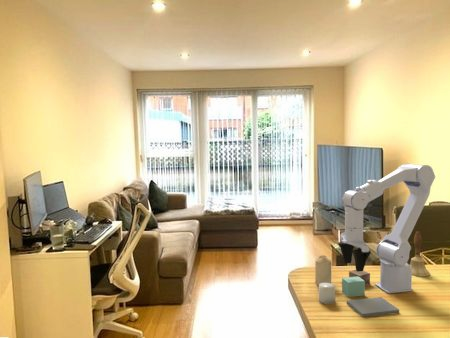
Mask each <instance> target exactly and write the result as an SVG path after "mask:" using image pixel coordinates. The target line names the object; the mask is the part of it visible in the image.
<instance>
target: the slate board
mask: <svg viewBox="0 0 450 338" xmlns="http://www.w3.org/2000/svg"><path fill="white" fill-rule="evenodd" d="M346 305H347V306H349V307H350V308H351V309H352V310H353V311H355V313H357V314H358V315H359V316H360V317H362V318H368V317H376V316H385V315H393V314H399V313H400V309H399V308H398V307H397V306H395V305H393V304H392V303H391V302H389V301H387V300H386V299H385V298H383V297H382V296H381V297H380V296H379V297H369V298H360V299H350V300H348V299H347V300H346Z"/></svg>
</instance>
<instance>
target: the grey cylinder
mask: <svg viewBox="0 0 450 338" xmlns="http://www.w3.org/2000/svg"><path fill="white" fill-rule="evenodd" d="M318 301H319V302H320V303H322V304H325V305H332V304H335V302H336V285H335V284H333V283H332V282H331V283H320V284H319V285H318Z"/></svg>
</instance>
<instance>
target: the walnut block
mask: <svg viewBox="0 0 450 338" xmlns="http://www.w3.org/2000/svg"><path fill="white" fill-rule="evenodd" d="M348 277H360V278H361V279H363V280H364V281H365V286H366V285H370V284H371V273H370V272H368V271H365V270H363V271H356V269H353V270H349V271H348Z"/></svg>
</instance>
